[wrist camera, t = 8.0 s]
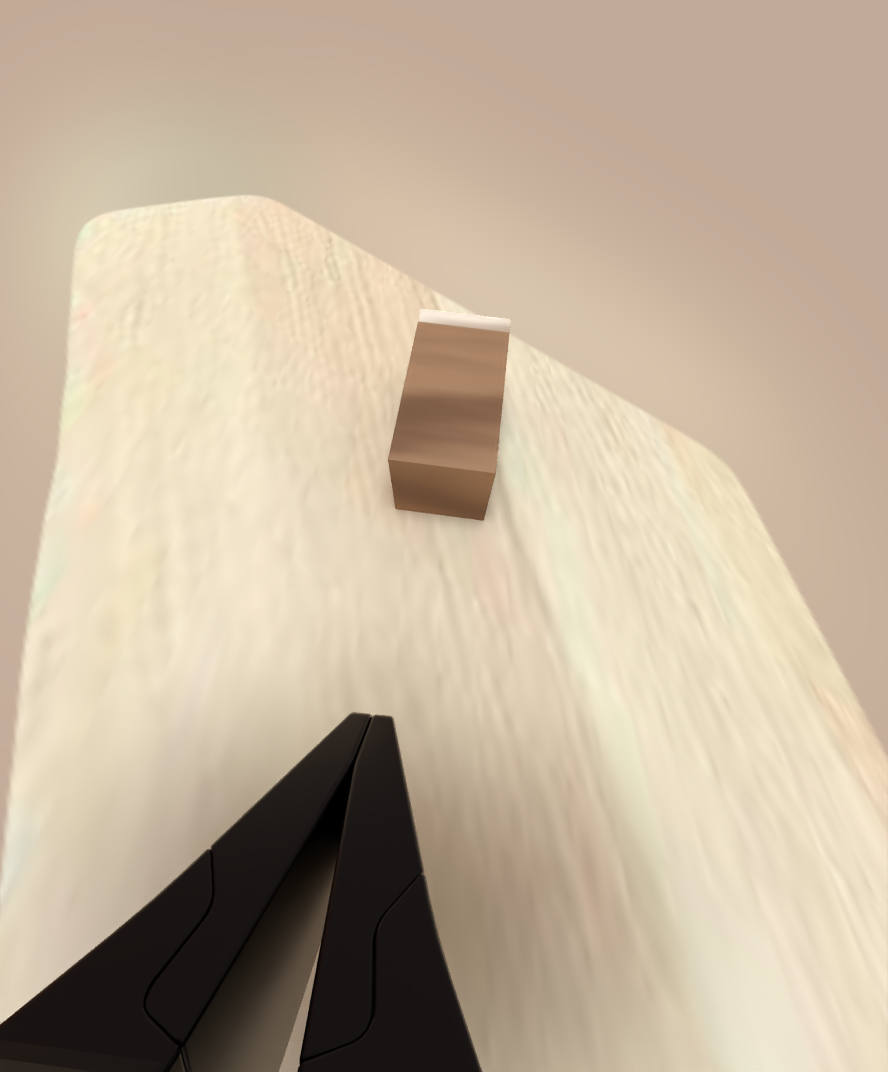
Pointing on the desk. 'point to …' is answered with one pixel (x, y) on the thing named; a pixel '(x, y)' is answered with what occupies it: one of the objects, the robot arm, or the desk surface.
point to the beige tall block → (450, 415)
